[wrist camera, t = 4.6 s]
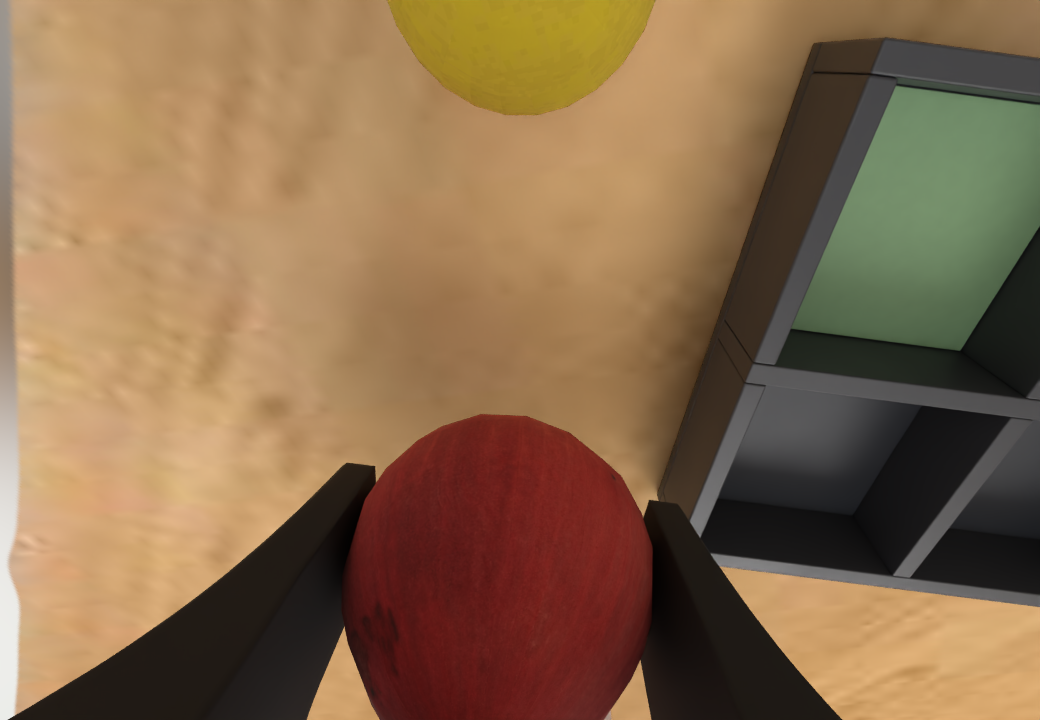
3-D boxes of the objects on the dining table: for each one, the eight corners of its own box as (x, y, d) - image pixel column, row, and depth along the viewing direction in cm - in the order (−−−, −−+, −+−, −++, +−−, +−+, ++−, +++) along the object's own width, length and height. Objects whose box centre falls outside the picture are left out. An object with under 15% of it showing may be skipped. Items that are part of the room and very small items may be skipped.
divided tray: (1036, 543, 23) (1111, 616, 20) (656, 494, 23) (672, 560, 20) (1425, 125, 14) (1663, 142, 11) (813, 42, 14) (884, 36, 11)
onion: (472, 544, 15) (403, 942, 8) (358, 400, 13) (126, 791, 6) (659, 485, 14) (766, 917, 7) (569, 308, 11) (591, 696, 4)
